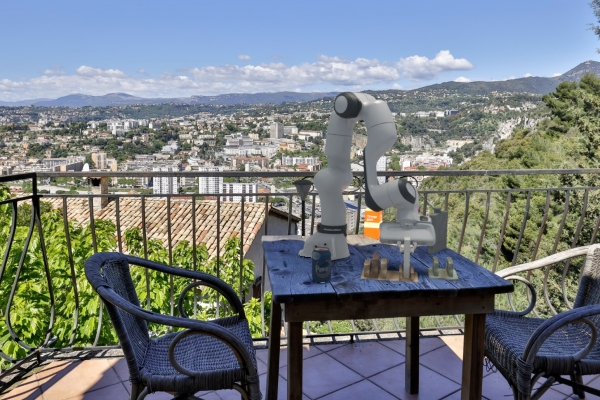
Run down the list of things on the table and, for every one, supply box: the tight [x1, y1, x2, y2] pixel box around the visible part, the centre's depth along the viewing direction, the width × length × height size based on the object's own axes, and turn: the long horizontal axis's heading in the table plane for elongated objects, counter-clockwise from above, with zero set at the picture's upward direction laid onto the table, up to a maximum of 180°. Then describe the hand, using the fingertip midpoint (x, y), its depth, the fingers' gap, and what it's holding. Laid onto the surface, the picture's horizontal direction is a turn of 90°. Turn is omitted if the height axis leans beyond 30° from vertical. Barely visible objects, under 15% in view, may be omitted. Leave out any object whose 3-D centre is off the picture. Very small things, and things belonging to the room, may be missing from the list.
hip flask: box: [427, 206, 449, 255], centre depth 208 cm, size 16×4×20 cm, turn 140°
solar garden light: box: [291, 179, 314, 237], centre depth 233 cm, size 12×12×30 cm
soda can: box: [311, 247, 332, 283], centre depth 165 cm, size 7×7×12 cm
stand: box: [426, 256, 459, 281], centre depth 168 cm, size 10×12×7 cm
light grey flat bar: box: [402, 237, 411, 278], centre depth 165 cm, size 2×5×14 cm, turn 168°
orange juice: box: [363, 206, 383, 240], centre depth 236 cm, size 8×9×20 cm
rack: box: [360, 252, 419, 283], centre depth 167 cm, size 20×12×8 cm, turn 78°
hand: (406, 253), depth 165 cm, fingers closed on light grey flat bar, 2 cm apart
